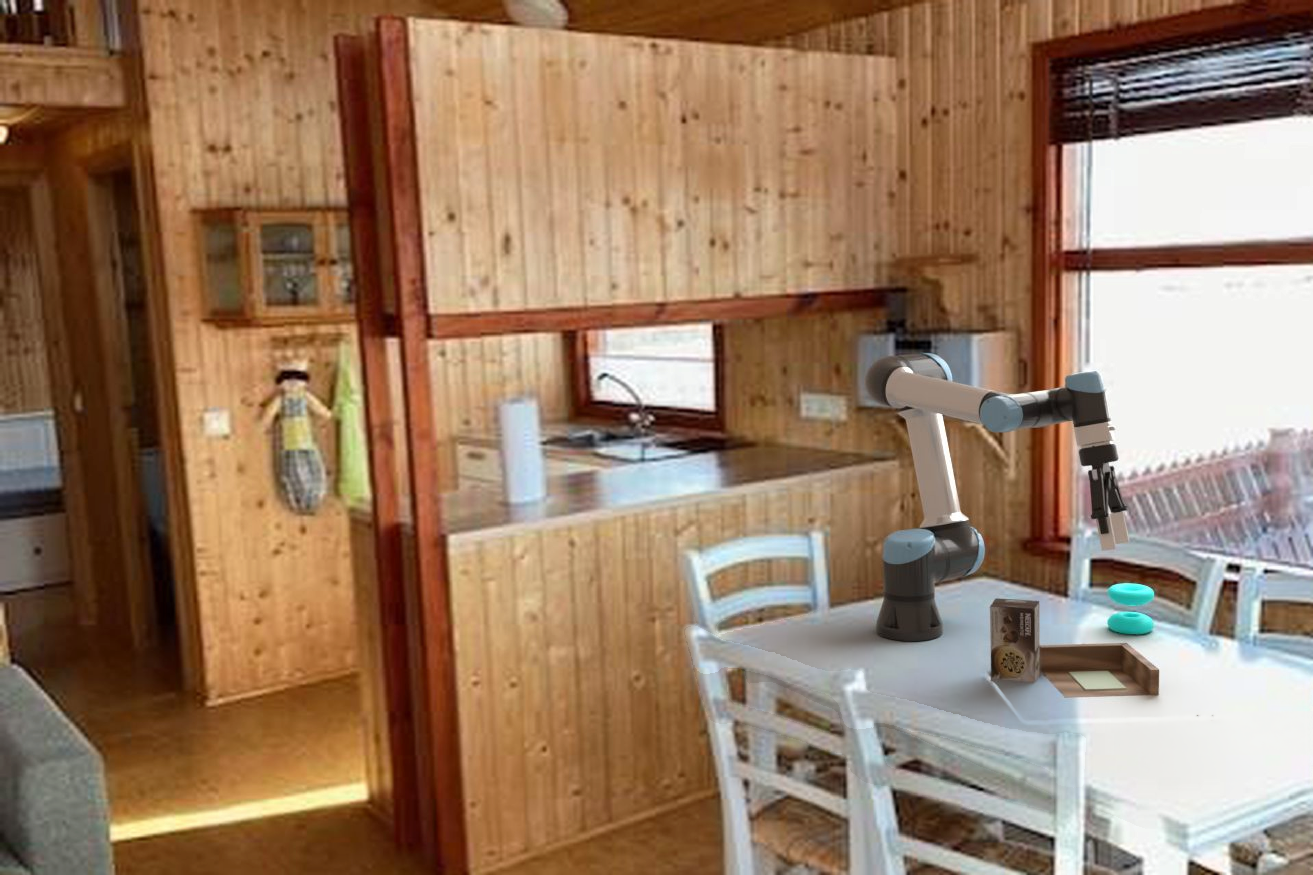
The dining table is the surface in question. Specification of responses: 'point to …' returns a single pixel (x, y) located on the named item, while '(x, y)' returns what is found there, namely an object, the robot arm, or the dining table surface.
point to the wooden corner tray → (1099, 668)
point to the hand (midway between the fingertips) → (1116, 546)
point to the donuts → (1131, 597)
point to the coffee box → (1015, 640)
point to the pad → (1097, 680)
